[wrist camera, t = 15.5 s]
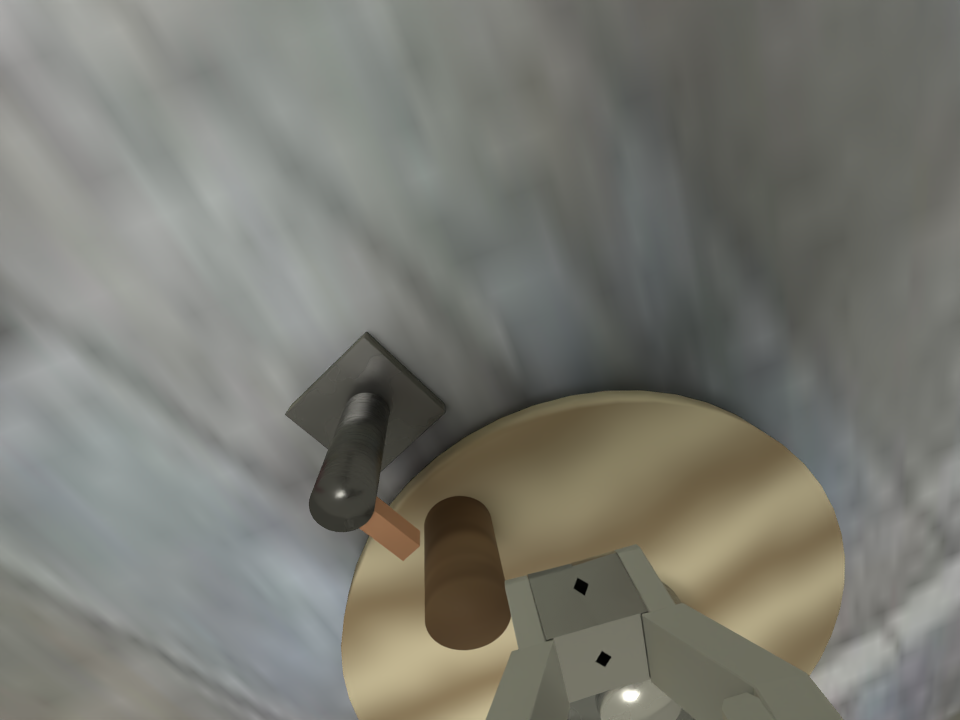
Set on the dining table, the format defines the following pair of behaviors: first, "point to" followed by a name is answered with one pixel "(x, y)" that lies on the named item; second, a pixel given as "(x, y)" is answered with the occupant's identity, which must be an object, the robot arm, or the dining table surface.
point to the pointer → (364, 439)
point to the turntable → (588, 542)
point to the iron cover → (630, 701)
